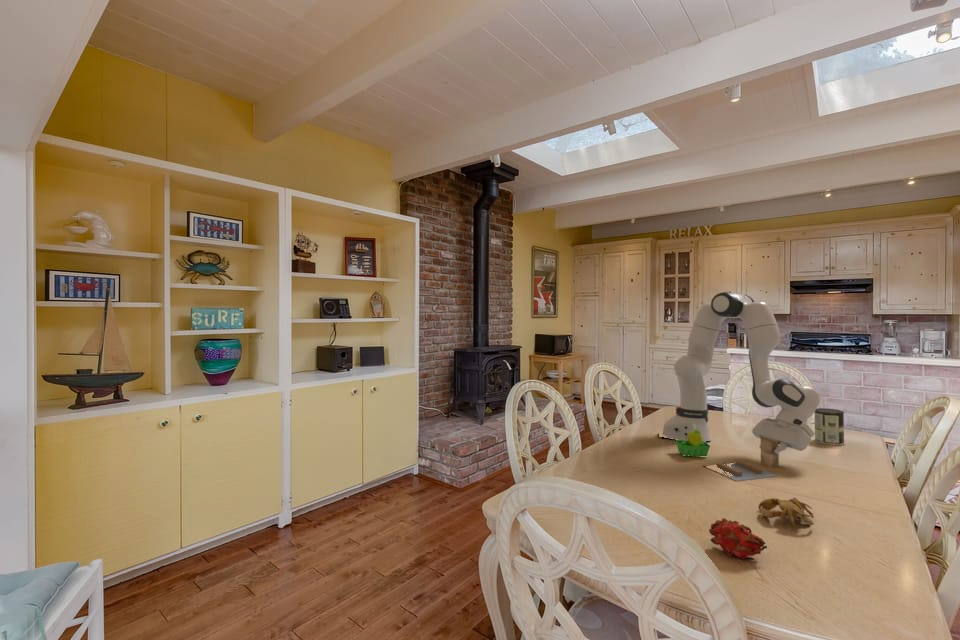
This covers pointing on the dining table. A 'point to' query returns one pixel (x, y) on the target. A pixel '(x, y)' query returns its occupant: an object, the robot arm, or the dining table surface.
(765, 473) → the mat
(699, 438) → the fruit basket
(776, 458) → the card block
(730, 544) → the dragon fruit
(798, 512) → the crab model
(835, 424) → the coffee can
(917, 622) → the dining table surface
